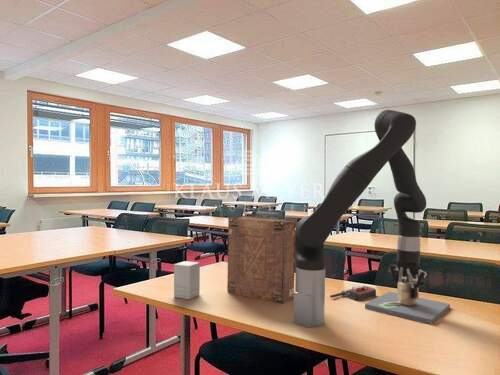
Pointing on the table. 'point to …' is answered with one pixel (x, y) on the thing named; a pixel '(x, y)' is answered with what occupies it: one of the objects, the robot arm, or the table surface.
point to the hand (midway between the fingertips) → (407, 296)
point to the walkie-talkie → (357, 293)
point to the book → (261, 258)
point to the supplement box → (186, 279)
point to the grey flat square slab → (409, 308)
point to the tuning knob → (404, 295)
